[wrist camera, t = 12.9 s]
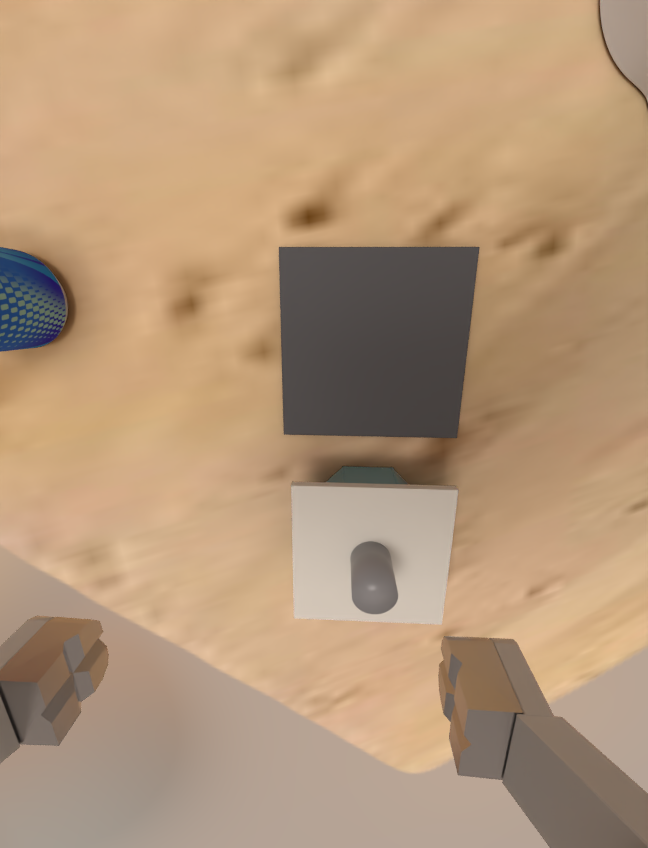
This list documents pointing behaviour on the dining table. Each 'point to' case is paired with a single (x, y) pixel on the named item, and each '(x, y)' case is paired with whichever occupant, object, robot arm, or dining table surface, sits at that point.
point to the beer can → (29, 302)
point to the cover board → (371, 521)
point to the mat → (375, 339)
